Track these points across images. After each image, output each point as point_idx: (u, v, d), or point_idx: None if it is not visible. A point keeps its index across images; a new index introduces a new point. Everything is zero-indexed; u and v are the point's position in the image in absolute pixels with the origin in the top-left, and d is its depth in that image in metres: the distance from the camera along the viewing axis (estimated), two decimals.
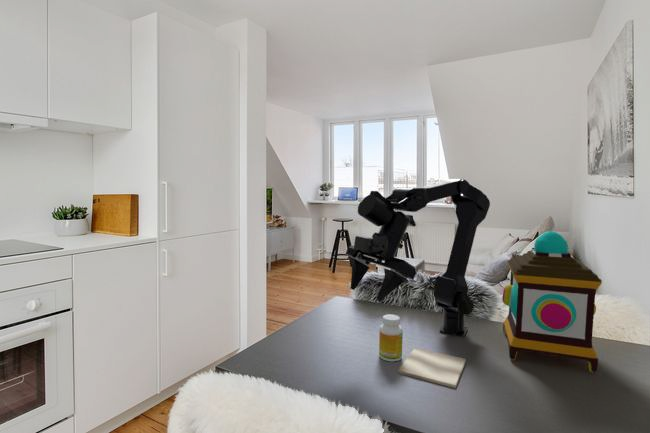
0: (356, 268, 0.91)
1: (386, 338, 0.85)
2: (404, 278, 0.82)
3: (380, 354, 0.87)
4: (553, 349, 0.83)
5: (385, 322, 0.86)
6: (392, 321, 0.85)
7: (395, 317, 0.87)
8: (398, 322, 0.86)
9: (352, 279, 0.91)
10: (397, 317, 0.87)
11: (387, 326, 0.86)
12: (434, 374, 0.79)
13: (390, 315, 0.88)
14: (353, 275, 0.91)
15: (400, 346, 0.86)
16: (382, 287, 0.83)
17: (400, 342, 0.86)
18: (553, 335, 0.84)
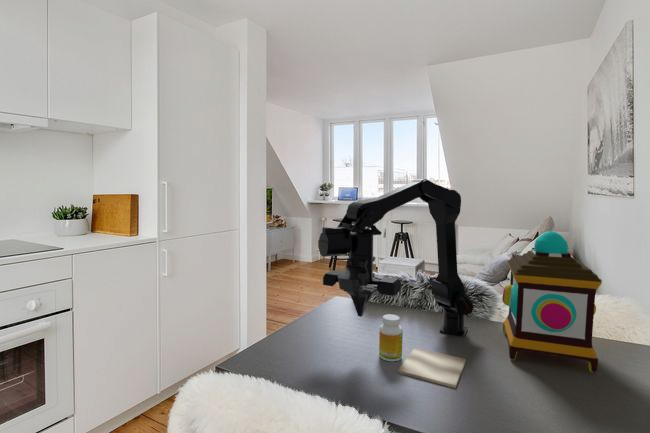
0: (357, 296, 0.90)
1: (386, 338, 0.85)
2: (376, 290, 0.90)
3: (380, 354, 0.87)
4: (553, 349, 0.83)
5: (385, 322, 0.86)
6: (392, 321, 0.85)
7: (395, 317, 0.87)
8: (398, 322, 0.86)
9: (356, 307, 0.91)
10: (397, 317, 0.87)
11: (387, 326, 0.86)
12: (434, 374, 0.79)
13: (390, 315, 0.88)
14: (356, 304, 0.90)
15: (400, 346, 0.86)
16: (361, 306, 0.90)
17: (400, 342, 0.86)
18: (553, 335, 0.84)
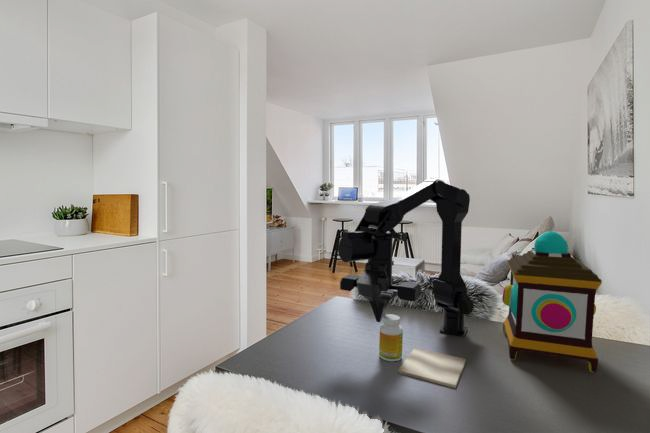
0: (375, 302, 0.88)
1: (386, 338, 0.85)
2: (395, 295, 0.88)
3: (380, 354, 0.87)
4: (553, 349, 0.83)
5: (385, 322, 0.86)
6: (392, 321, 0.85)
7: (395, 317, 0.87)
8: (398, 322, 0.86)
9: (375, 313, 0.88)
10: (397, 317, 0.87)
11: (387, 326, 0.86)
12: (434, 374, 0.79)
13: (390, 315, 0.88)
14: (375, 309, 0.88)
15: (400, 346, 0.86)
16: (380, 311, 0.88)
17: (400, 342, 0.86)
18: (553, 335, 0.84)
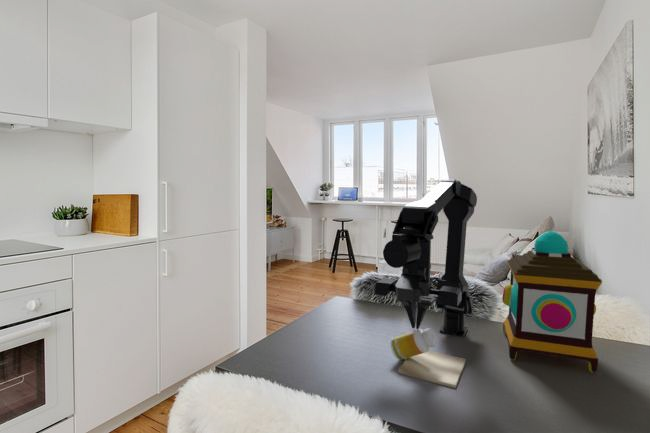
0: (411, 307, 0.84)
1: (412, 345, 0.82)
2: (434, 300, 0.83)
3: (393, 343, 0.85)
4: (553, 349, 0.83)
5: (425, 337, 0.82)
6: (431, 343, 0.81)
7: (434, 340, 0.82)
8: None
9: (410, 319, 0.84)
10: (436, 341, 0.83)
11: (422, 340, 0.82)
12: (434, 374, 0.79)
13: (432, 332, 0.84)
14: (410, 315, 0.84)
15: None
16: (419, 317, 0.83)
17: None
18: (553, 335, 0.84)
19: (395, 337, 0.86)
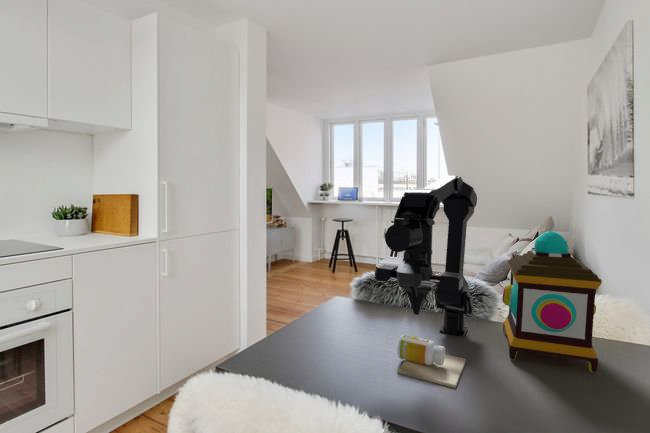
0: (413, 293, 0.83)
1: (420, 357, 0.81)
2: (434, 285, 0.83)
3: (401, 344, 0.84)
4: (553, 349, 0.83)
5: (437, 356, 0.80)
6: (439, 363, 0.80)
7: (443, 360, 0.82)
8: None
9: (413, 305, 0.83)
10: (443, 360, 0.82)
11: (432, 356, 0.81)
12: (434, 374, 0.79)
13: (444, 351, 0.82)
14: (413, 301, 0.83)
15: None
16: (419, 303, 0.83)
17: None
18: (553, 335, 0.84)
19: (405, 338, 0.85)
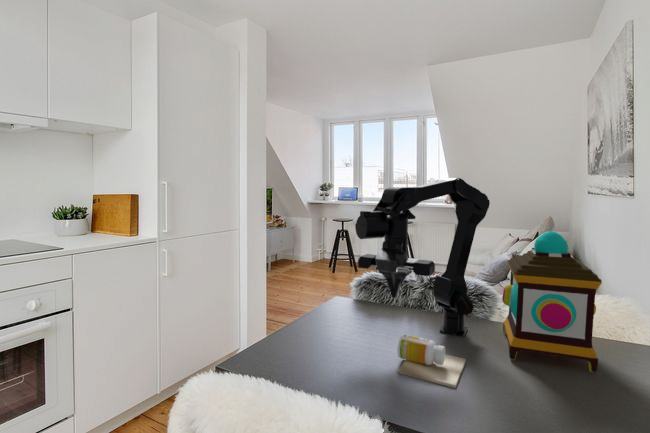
0: (391, 278, 0.94)
1: (420, 356, 0.81)
2: (410, 272, 0.94)
3: (402, 343, 0.84)
4: (553, 349, 0.83)
5: (437, 355, 0.80)
6: (439, 363, 0.80)
7: (443, 359, 0.82)
8: None
9: (391, 289, 0.94)
10: (443, 360, 0.82)
11: (433, 355, 0.81)
12: (434, 374, 0.79)
13: (444, 351, 0.82)
14: (391, 285, 0.94)
15: None
16: (396, 287, 0.93)
17: None
18: (553, 335, 0.84)
19: (406, 338, 0.85)
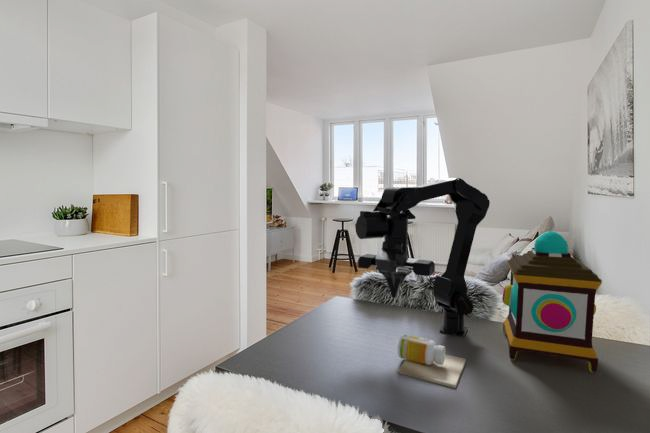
0: (391, 278, 0.94)
1: (421, 355, 0.82)
2: (410, 272, 0.94)
3: (402, 342, 0.84)
4: (553, 349, 0.83)
5: (437, 354, 0.81)
6: (440, 362, 0.80)
7: (443, 359, 0.82)
8: None
9: (391, 289, 0.94)
10: (443, 360, 0.82)
11: (433, 355, 0.81)
12: (434, 374, 0.79)
13: (444, 351, 0.82)
14: (391, 285, 0.94)
15: None
16: (396, 287, 0.93)
17: None
18: (553, 335, 0.84)
19: (406, 337, 0.85)
